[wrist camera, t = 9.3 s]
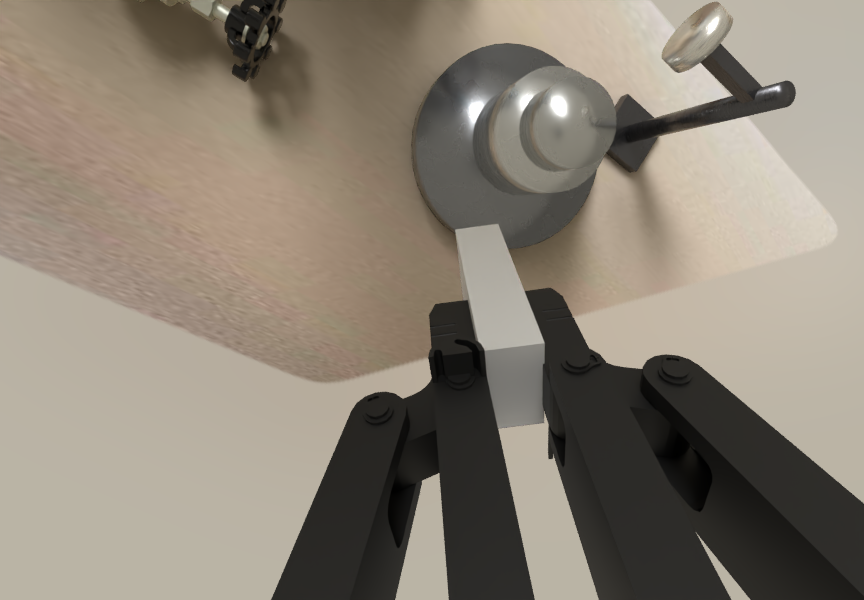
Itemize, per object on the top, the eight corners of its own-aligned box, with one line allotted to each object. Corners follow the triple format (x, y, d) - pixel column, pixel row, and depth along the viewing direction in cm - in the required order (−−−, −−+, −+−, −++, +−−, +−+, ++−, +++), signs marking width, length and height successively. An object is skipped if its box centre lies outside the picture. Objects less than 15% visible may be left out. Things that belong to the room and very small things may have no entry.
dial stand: (557, 112, 43) (693, 55, 28) (586, 65, 43) (737, -17, 28) (629, 172, 46) (787, 150, 31) (656, 128, 46) (828, 85, 31)
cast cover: (451, 151, 40) (492, 133, 31) (513, 63, 40) (570, 21, 31) (529, 216, 42) (585, 216, 34) (586, 133, 42) (657, 112, 34)
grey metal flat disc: (374, 179, 40) (377, 177, 38) (478, 8, 40) (487, -3, 38) (525, 280, 45) (534, 283, 44) (618, 128, 45) (631, 125, 43)
